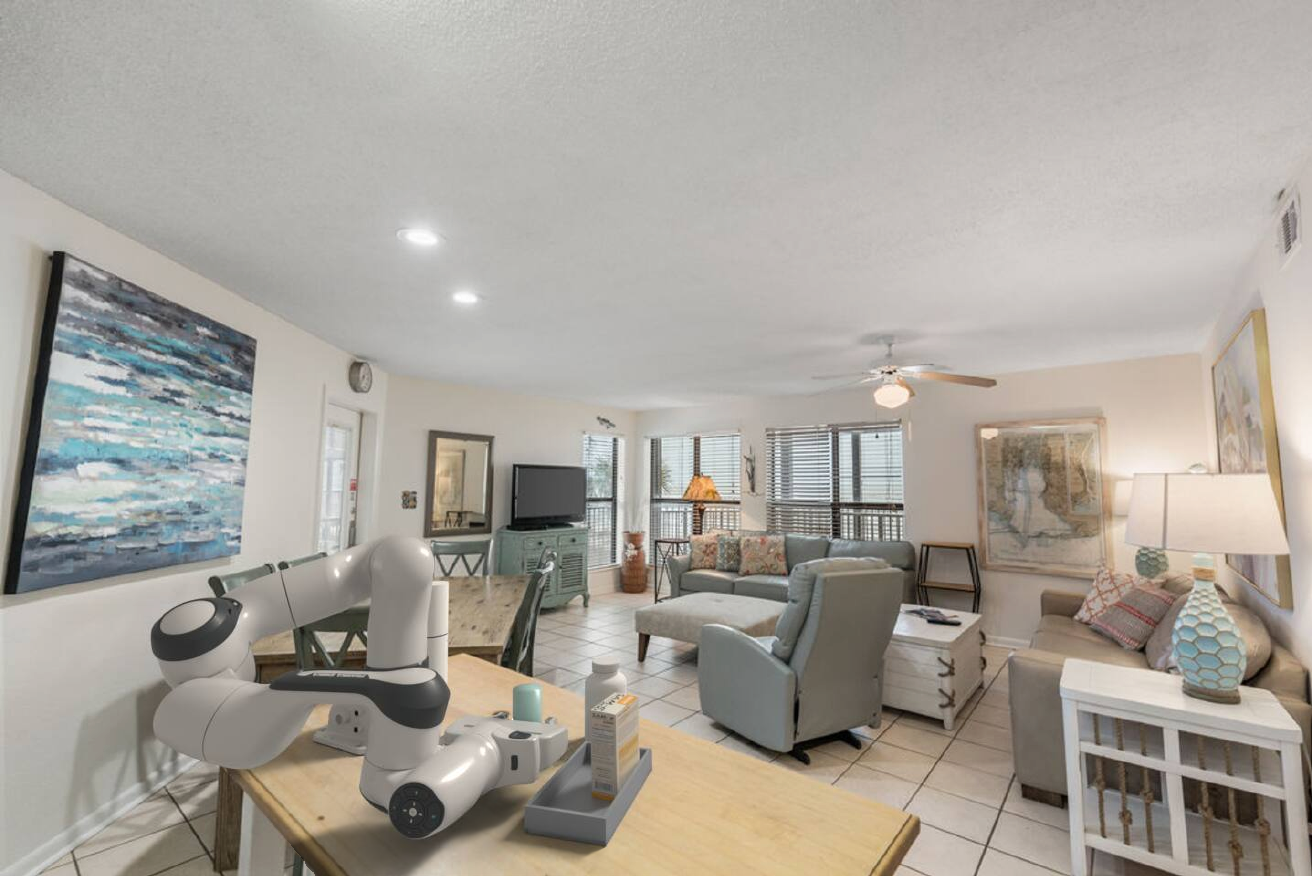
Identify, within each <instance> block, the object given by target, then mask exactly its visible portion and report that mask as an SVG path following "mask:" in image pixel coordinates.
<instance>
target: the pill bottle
mask: <svg viewBox="0 0 1312 876" xmlns="http://www.w3.org/2000/svg"><path fill="white" fill-rule="evenodd" d="M620 661H621V660H620V659H619V658H618V657H615V656H599V657H595V658H593V660H592V661H591V673H590V674H588V676H587V677H586V679H585V681H584V683H585V684H584V742H585V741H591V721H590V710H591V709H593V708H594V707H595V706H597V705H598V704H600V703H601V702H602V701H604V700H605V699H606V698H608V697H609V696H611V695H612V694H613V693H624V694H628V693H627V690H628V689H627V688H628V687H627V686H628V685H627V684H628V683H627V682H628V681H627V678H626V676H625V674H623V673H622V672H620V670H621V669H620V668H621V667H620V665H621V662H620Z"/></svg>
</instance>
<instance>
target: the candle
mask: <svg viewBox="0 0 1312 876" xmlns="http://www.w3.org/2000/svg"><path fill="white" fill-rule="evenodd" d="M512 720H519V721H528V722H537V723H543V685H541V684H540V683H536V682H528V683H521V684H518V685H516V686H514V687H513V688H512Z"/></svg>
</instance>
